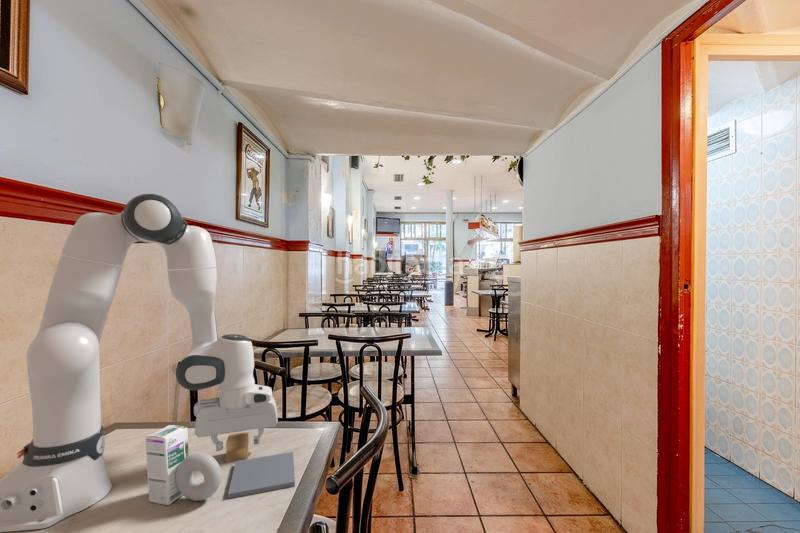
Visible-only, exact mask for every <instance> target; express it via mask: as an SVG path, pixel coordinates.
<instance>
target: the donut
mask: <svg viewBox="0 0 800 533" xmlns="http://www.w3.org/2000/svg"><path fill="white" fill-rule="evenodd" d="M194 471H198V472H200V473H201V474H202V476H203V482H199V481H198V480H197V479H196V478H195V476H194ZM222 476H223V475H222V469H221V467H220V464H219V462H218V461H217V460H216V458H214V457H213V456H212V455H211V454H208V453H205V452H194V453H192V454H189V456H187V457H186V458H185V459H184V460H183V461H182V462H181V463H180V464H179V466H178V469H177V471H176V477H175V478H176V485H177V487H178V489H179V491H180V492H181V493H182V494H183V495H182V496H183V497H185V498H186V499H188V500H191V501H194V502H197V501H205V500H208V499H209V498H211V497H212V496H213V495H214V494H215V493H217V491H218V489H219V487H220V485H221V482H222Z"/></svg>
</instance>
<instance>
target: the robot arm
mask: <svg viewBox="0 0 800 533" xmlns="http://www.w3.org/2000/svg"><path fill="white" fill-rule="evenodd" d="M74 223H75V224H74V225H73V226H72V228H71V230H70V232H69V234H68V236H67V238H66V240H65V242H64V244H63V248H62V250H61V253H60V256H59V259H58V263H57V265H56V268H55V272H54V274H53V278H52V281H51V284H50V287H49V290H48V295H47V299H46V303H45V307H44V311H43V314H42V318H41V322H40V326H39V328H38V332H37V335H36V336H35V338H34V339H33V340H32V341H31V343H30V344H29V345H28V347H27V350H26V366H27V369H26V370H27V378H28V386H29V394H30V395H29V396H30V400H31V410H32V411H31V412H32V439H31V442H29V443H27V444H25V445H24V446H23V448H22V449H21V450H20V451H19V452H17V453H16V455H18V456H17V457H16V459H20V458H22V457H23V459H22V462H20V463H19V464H17V465H16V466H15V467H14V468H13V469H11V470H10V471H8V473H6V474H5V475H4V476H3V477H1V478H0V533H9V532H18V531H29V530H30V531H32V530H41V529H46V528H49V527H51V526H54V525H55V524H57V523H59V522H61V521H62V520H63V519H66V518H68V517H70V516H73V515H74V514H76V513H79V512H81V511H83V510H85V509H87V508H89V507H91V506H93V505H95V504H96V503H98V502H99V501H100V500H102V499H104V497H106V496H107V495H109V493H110V492H111V490H112V487H113V484H112V482H111V480H110V477H109V475H108V471H107V468H106V463H105V458H104V452H105V445H106V444H105V442H106V441H105V432H104V429H105V428H104V426H102V409H101V408H102V407H101V403H102V402H101V399H102V398H101V375H100V374H101V371H100V342H101V338H102V335H103V331H104V327H105V324H106V321H107V320H108V319H107V318H108V316H109V312H110V309H111V307H112V303H113V301H114V297H115V294H116V290H117V287H118V284H119V280H120V277H121V274H122V270H123V266H124V263H125V260H126V256H127V253H128V251H129V249H130V247H131V246H132V245H133V244H158V245H159V246H161V247H162V249H163V250H164V252H165V255H166V263H167V279H168V284H169V289H170V292H171V294H172V297H173V298H174V299H175V301H177V302H179V303H181V305H183V306H184V308H185V309H186V310H187V312H188V316H189V321H190V329H191V330H190V331H191V337H192V339H191V341H192V344H191V347H190V350H189V352H188V353H187V354H186V355H185V356H184V357H183V358H182V359H181V360H180V361H179V363H178V365H177V367H176V369H175V378H176V381H177V382H178V384H179V386H180V387H182V388H184V389H186V390H189V391H202V390H204V389H208V388H211V387H215V386H218V397H212V398H208V399H206V398H205V399H204V398H203V399H200V401H198V402H196V403H195V404H194V406H193V415H194V416H195V417H196V419H195V424H194V435H195V436H196V437H197V438H204V437H210V440H211V442H212V443H213V444H214V445H215V451H216V452H221V451H223V449H224V440H220V439H219V438H218V436H219V435H224V434H234V433H237V432H238V433H240V432H245V431H246V432H247V431H252V430H257V431H258V434H257V435H254V436H253V446H256V445H260V444H261V438H262V436H263V434H264V432H265V428H272V427H276V425H277V424H278V421H279V419H278V408H277V403H276V400H275V397H273V390H272V387H270V386H268V385H262V384H261V385H260V384H258V383H257V384H256V381H255V378H254V369H255V355H254V354H255V352H254V347H253V343H252V341H251V339H250V338H249V337H248V336H245V335H242V334H236V333H235V334H233V333H231V334H224V335H221V337H220V338H219V337H218V336H219V335H218V330H217V327H218V326H217V319H216V310H215V306H216V295H217V285H218V284H217V283H218V270H217V269H218V268H217V260H216V253H215V249H214V244H213V239H212V237H211V234H210V233H209V231H208V230H206V229H205V228H202V227H200V226H196V225H188V222H187V220H185V218H184V217H183V215H182V214H181V213H180V211H179V210H178V208H177V206H175V204H173V202H171V200H169V199H168V198H166V197H164V196H163V195H159V194H157V193H156V194H154V193H143V194H139V195H137V196H135V197H132V198H131V199H130V200H129V201H127V203H126V205H125V206H124V209H123V210H122V211H121V212H120V213H117V214H111V213H106V212H88V213H84V214H82V215H81V216H80V217H79V218H78V219H77V220H76V222H74Z"/></svg>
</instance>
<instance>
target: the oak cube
mask: <svg viewBox="0 0 800 533" xmlns="http://www.w3.org/2000/svg"><path fill="white" fill-rule="evenodd" d="M249 434H250V433H249V431H246V432H245V431H243V432H238V433H237V432H236V433H229V434H228V436H227V439H226V443H225V449H226V450H225V451H226V453H225V454H226V455H225V457H226V460H225V461H226V462H227V461H230V462H233V461H232V460H236V461H241V460H247V459H249V458H248V457H249V454H250V453H249V452H250V438H249V437H250V435H249Z"/></svg>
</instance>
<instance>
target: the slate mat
mask: <svg viewBox="0 0 800 533" xmlns="http://www.w3.org/2000/svg"><path fill="white" fill-rule="evenodd" d="M294 461H295V460H294V451H291V452H283V453H277V454H272V455H271V454H270V455H266V456H260V457H254V458H253V457H252V458H247V459H242V460H236V461H235V464H234V467H233V471H232V476H231V480H230V485H229V488H228V493H227V499H234V498H239V497H243V496H244V497H245V496H248V495H249V496H250V495H254V494H259V493H261V494H262V493H265V492H270V491H276V490H281V489H286V488H291V487H295V485H296V482H295V480H296V479H295V465H294V464H295V463H294Z"/></svg>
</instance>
